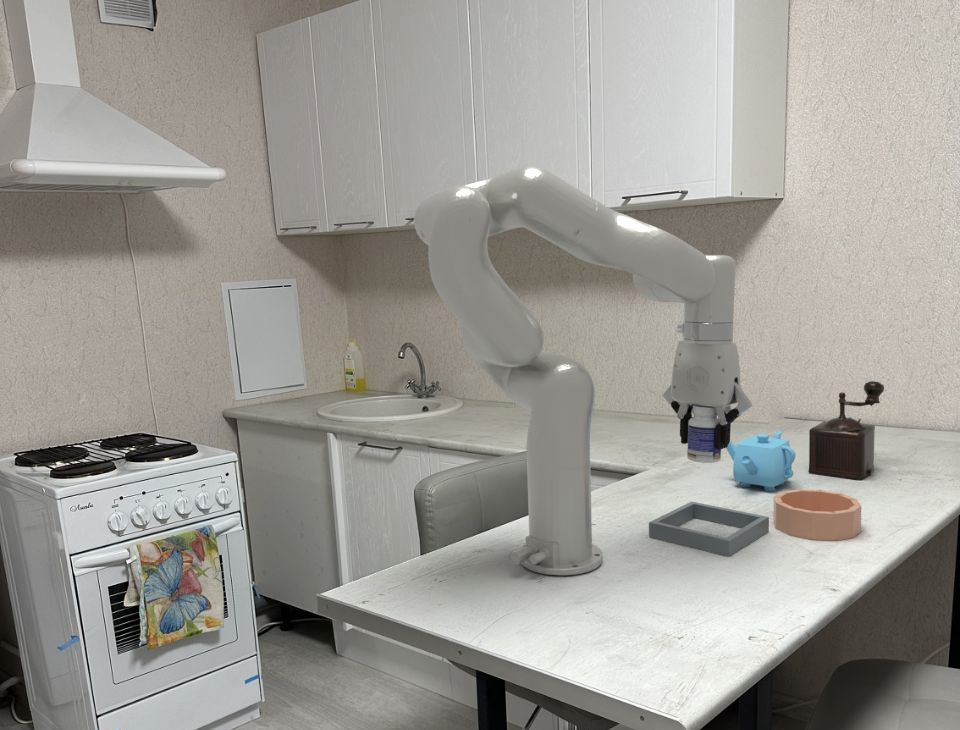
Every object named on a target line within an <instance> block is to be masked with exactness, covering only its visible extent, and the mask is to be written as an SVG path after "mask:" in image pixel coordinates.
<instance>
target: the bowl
mask: <svg viewBox="0 0 960 730" xmlns="http://www.w3.org/2000/svg"><path fill="white" fill-rule="evenodd" d="M772 517H773V521H774V522H773V524H774V527H775V529H776V530H779V531H781V532H783V533H785V534H787V535H788V536H792V537H796V538H802V539H807V540H811V541H831V542H832V541H833V542H834V541H841V540H847V539H848V540H849V539H853V538H855V537H856V536H857V535H859V534H860V533H861V532H862V527H861V526H862V504H861V503H860V502H859V501H858V499H856V498H855V497H851V496H849V495H847V494H845V493H844V494H843V493H842V492H841V493H839V492H834V491H830V490H823V489H792V490H786V491H785V490H783V491H781V492H779V493H777V494H775V495H774V496H773V516H772Z"/></svg>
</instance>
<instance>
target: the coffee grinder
mask: <svg viewBox="0 0 960 730" xmlns="http://www.w3.org/2000/svg"><path fill="white" fill-rule="evenodd" d="M863 390H864V392H865V394H866V398H865V399H864V401H862V402H858V401H849V400H848V401H847V399H846V393H845V392H841V391H840V392H839V394H838V397H839V399H838V403H839V415H838V417H834V418H831V419H829V420H828V421H822V422H820V423H819V424H817V425H815V426H813V427H811V428H810V429H809V430H808V431H809V438H808V441H809V443H808V444H809V445H808V446H809V447H808V448H809V449H808V456H809V457H808V460H809V461H808V474H812V475H817V476H825V477H832V478H840V479H846V480H856V481H862V480H863V479H865V478H866V477H868V476H870V475H871V474H872V473H873V471H874V468H875V464H874V460H875V430H876V427H875V425H874V424H867V423H866V424H864V423H861V420H862V418H859V419H858V420H857V419H854V418H852V417H847V416H846V411H845V409H846V408H845V406H850V407H865V406H870V407H873V405H875V404H880V403H881V402H880V396H881V395H882V394H883V392H884V391H885V385H884V384H883V383H881V382H878V381H875V380H872V381H871V380H869V381H868V382H865V383H864V385H863Z"/></svg>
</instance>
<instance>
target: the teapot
mask: <svg viewBox="0 0 960 730" xmlns="http://www.w3.org/2000/svg"><path fill="white" fill-rule="evenodd" d="M782 434H783V431H782V430H777V431H776V432H775V433H774V435H773V437H770V435H768V434H766V433H759V434H758V433H757V435H753V436H750V437H747V438H745V439H743V440H740V441H739V442H737V443H736V445H735V444H734V443H732V441H730V442H729V444H728V447H726V448H725V449H726V450H727V452H728V454H729V455H730V458H731V459H732V461H733V467H732V469H733V471H732V473H733V479H734V482H737V483H740V484H739V487H741V488H750V487H751V486H752V485H755V486H761V487H763V488H764V491H765V492H775V491H776V488H775V487H776V486H785V485H786V483H785V482H787V480H788V479H791V478H793V476H794V470H793V468H792V467H793V466H792V465H793V464H794V462H795V459H796V452H795V450H794V449H793V448H792V447H791V445H790V441H789V440H788V439H781V437H782Z"/></svg>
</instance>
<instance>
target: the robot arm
mask: <svg viewBox="0 0 960 730" xmlns="http://www.w3.org/2000/svg"><path fill="white" fill-rule="evenodd" d="M413 224H414V225H413V226H414V230H415V231H416V234H417V236H418V238H419V239H420V240H421V241H422V243H424V244H425V245H426V246H428V255H427V256H428V267H429V272H430V273H429V274H430V277H431V281H432V284H433V286H434V288H435V291H436V292H437V294H438V295H439V297H440V299H441V300H442V301H443V303H444V304H445V305H446V306H447V308H448V309H449V310H450V311H451V313H452V314H453V315H454V316H455V317H456V319H457V321H459V323H460V324H461V326H460V336H461V337H460V338H461V341H462V344H463V346H464V348H465V350H466V352H467V353H468V355H469V356H470V357H471V358H472V360H473V361H474V362H475V363H476V364H477V366H479V367H480V368H481V370H482V371H483V372H484V373H485V374H486V375H487V376H488V377H489V378H490V379H491V381H492V382H493V383H494V384H495V385H496V386H497V387H498V388H499V389H500V390H501V391H502V392H503V394H504V395H505V396H506V397H507V398H508V399H509V400H510V401H511V402H512V403H514V404H516V405H517V406H519V407H521V408H522V409H525V410H527V411H530V420H529V425H528V431H527V437H526V471H527V472H526V473H527V474H526V477H527V501H528V504H527V505H528V528H529V529H528V535H527V536H525V544H524V545H523V546H522V548H519V549H516V550H514V551H512V552H510V554H509V560H510V562H511V563H512V564H513V565H515V566H517V565H519V564H521V565H522V566H523V567H524V568H526V569H527V570H530V571H532V572H535V573H538V574H542V575H546V576H547V575H548V576H549V575H551V576H573V575H580V574H586V573H588V572H591V571H593V570H595V569H598V567H600V566H601V565H602V563H603V551H602V550H601V549H600V548H599V547H598V546H596V545H595V544H593V525H592V479H591V478H592V477H591V476H592V475H591V474H592V471H591V426H592V425H591V424H592V420H593V419H592V417H593V412H594V406H595V405H594V404H595V398H596V397H595V396H596V395H595V393H596V392H595V384H594V381H593V378H592V376H591V374H590V372H589V371H588V370H587V368H586V367H585V366H584V365H583V364H582V363H580V362H579V361H577V360H576V359H574V358H571V357H568V356H565V355H560V354H556V353H552V352H551V353H550V352H546V351H545V350H544V349H543V347H544V342H545V341H544V340H545V339H544V337H545V336H544V331H543V328H542V326H541V324H540V322H539V320H538V318H537V317H536V316H535V315H534V313H533V312H531V310H529V307H527V306H526V305H525V304H524V302H523V301H522V300H521V299H520V298H519V297H518V296H517V295H516V294H515V293H514V291H513V290H512V289H511V287H509V286H508V284H507V283H506V282H505V281H504V279H503V278H502V277H501V275H500V274H499V273H498V272H497V271H496V269H495V267H494V265H493V263H492V262H491V259H490V256H489V251H488V240H489V237H493V236H495V235H499V234H501V233H504V232H506V231H507V232H508V231H510V230H513V229H518V228H525V229H526V230H528V231H530V232H531V233H533V234H535V235H537V236H538V237H541V238H543V239H544V240H546V241H547V242H550V243H551V244H553V245H555V246H557V247H559V248H560V249H562V250H563V251H565V252H566V253H569V254H570V255H571V256H574V257H575V258H577V259H580V260H582V261H584V262H587V263H590V264H592V265H595V266H600V267H605V268H611V269H615V270H620V271H625V272H627V273H630V274H633V277H632V280H633V285H634V288H635V290H636V291H637V292H638V293H639V295H640V296H642V297H643V298H645V299H647V300H650V301H653V302H660V303H680V304H684V312H683V313H684V314H683V315H684V316H683V317H684V318H683V320H684V321H683V323H682V324H678V325H677V328H676V331H677V333H679V334H682V338H683V340H678V343H677V346H676V350H675V354H674V358H673V359H674V360H673V365H672V374H671V384H670V386H669V387H668V388H667V389H666V390H665V391H664V392H663V394H662V396H663V399H664V400H665V401H666V402H667V403H668V405H670V407H671V408H672V410H673V411H674V413H675V414H676V417H677V419H679V420H680V421H679V437H680V444H681V445H682V444H683V445H686V444H688V422H689V420H690V419H691V418H693V417H694V416H693V405H694V404H695V405H703V406H711V407H715V408H716V412H717V419H719V424H717V425H716V428H715V448H716V449H718V450H721V451H722V450H723V449H726V447H728V444H729V442H731V429H732V428H731V427H732V426H731V424H732V423H734V421H735V420H737V418H739V417H740V416H741V415H742V414H743V413H745V412H746V411H747V410H749V409H750V408H752V405H753V404H752V402H751V401H750V399H749V397H748V396H747V395H746V393H745V391H743V389H742V388H741V367H740V358H739V351H738V347H737V346H738V345H737V343H736V342H733V340H734V338H733V337H734V313H735V312H734V311H735V309H734V307H735V289H736V288H735V287H736V263H735V259H734V258H733V257H732V256H729V255H727V254H726V255H725V254H704V253H703V252H701V251H700V250H698V249H697V248H695V247H694V246H692V245H691V244H689V243H687V242H686V241H684V240H683V239H681V238H679V237H677V236H676V235H674V234H672V233H670V232H668V231H666V230H663V229H661V228H658V227H657V226H654V225H651V224H649V223H646V222H645V221H644V222H643V221H641V220H638V219H636V218H634V217H631V216H629V215H627V214H624V213H621V212H619V211H616V210H614V209H611V208H610V207H608V206H606V205H605V204H603V203H601V202H600V201H598V200H596V199H594V198H593V197H591V196H590V195H588V194H586V193H585V192H583V191H582V190H580V189H579V188H577V187H575V186H573V185H572V184H570V183H568V182H566V181H565V180H563V179H561V178H560V177H558V176H557V175H555V174H554V173H551V172H550V171H548V170H546V169H544V168H542V167H539V166H534V165H528V166H527V165H526V166H522V167H517V168H516V169H513V170H512V169H511V170H509V171H507V172H503V173H500V174H497V175H495V176H492V177H488V178H485V179H482V180H478V181H475V182H471V183H469V184H468V183H467V184H465V185H461V184H460V185H452V186H449V187H447V188H444V189H441V190H438V191H436V192H435V191H434V192H433V193H430V194H428V195H427V196H425V197H424V198H423V199H422V200H420V202H419V204H418V205H417V208H416V209H415V211H414V216H413ZM734 404H737V405H736V406H735V407H734V408H732V406H731V405H734Z"/></svg>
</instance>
